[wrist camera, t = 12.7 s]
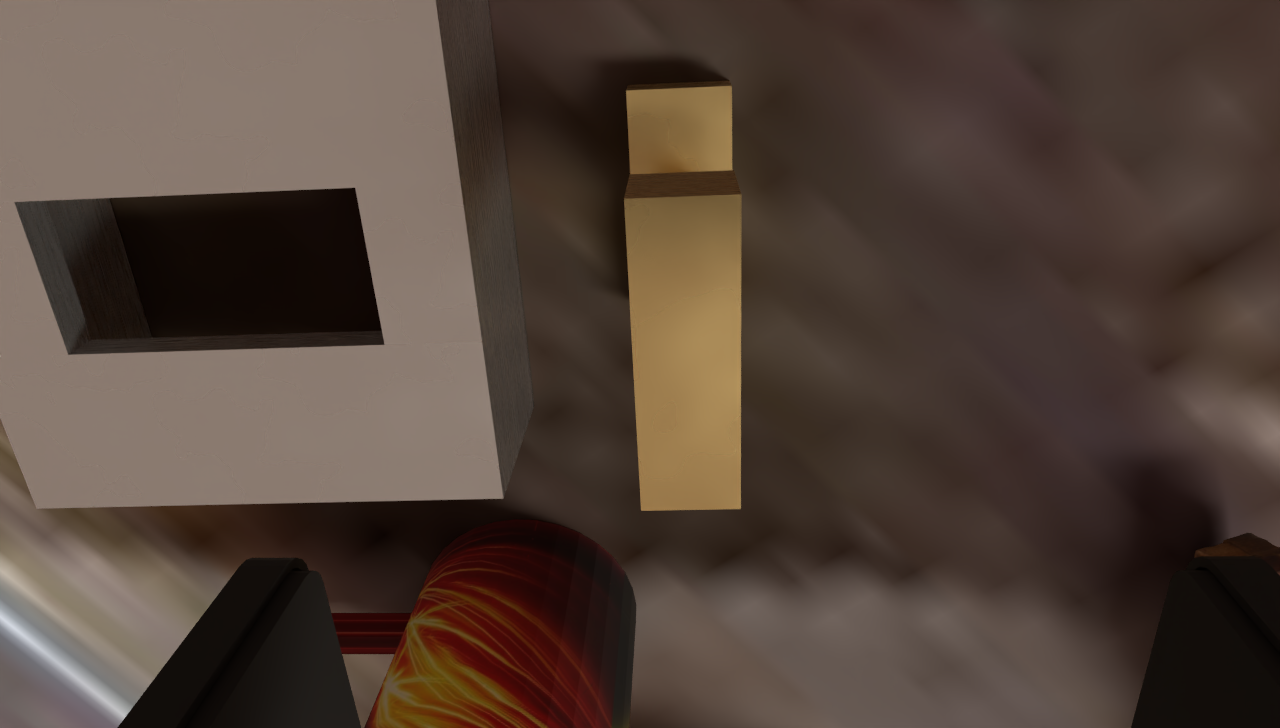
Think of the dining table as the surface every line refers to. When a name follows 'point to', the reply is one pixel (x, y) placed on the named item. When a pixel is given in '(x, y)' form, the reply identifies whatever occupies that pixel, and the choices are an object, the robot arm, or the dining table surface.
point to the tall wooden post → (685, 294)
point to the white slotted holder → (257, 162)
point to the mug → (507, 635)
